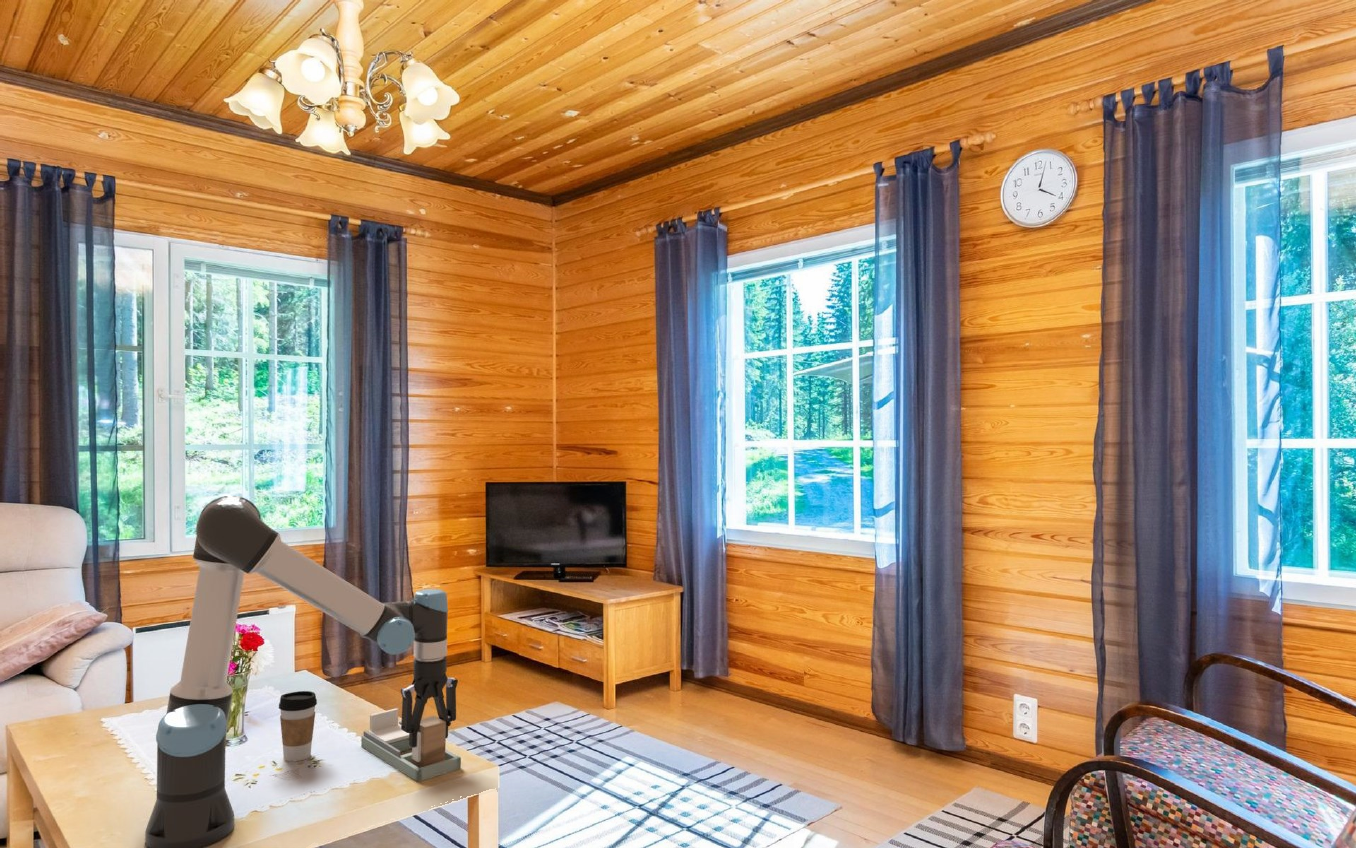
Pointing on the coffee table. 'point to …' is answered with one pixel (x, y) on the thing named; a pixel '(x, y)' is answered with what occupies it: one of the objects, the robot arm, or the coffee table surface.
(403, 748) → the tray
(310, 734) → the coffee cup
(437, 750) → the block
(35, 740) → the coffee table surface
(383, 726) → the white l-shaped bracket
